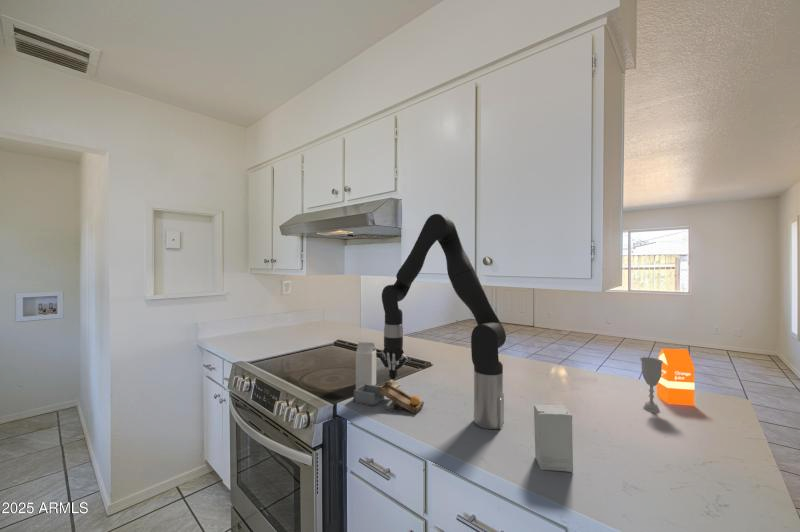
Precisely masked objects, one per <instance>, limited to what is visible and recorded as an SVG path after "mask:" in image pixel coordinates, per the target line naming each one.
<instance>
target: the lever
mask: <svg viewBox="0 0 800 532" xmlns="http://www.w3.org/2000/svg"><path fill="white" fill-rule="evenodd" d="M400 386H401V383H399V382H397V381H396V380H395V379H394V380H393V379H390V380H388V381H387V382H386V381H385V383H384V384H383V385H381V387H378V390H377V392H379V393H380V394H382V395H384V398H387V399H389V400H390V401H391V402H393V401H394V402H395V403H397V404H399V405H400V406H402V407H403V409H405V410H407V411H409V412H410V413H413V414H417V413H418V412H419V411H420V410H421V409H422V408H423V407H424V404H425V401H423V400H421V401H420V403H419V405H418V406H413V405H412V404H411V402H410V400H411V398H412V397H413V396H411V395H409V394H408V393H406V392H404V391H402V390H401V389H399V388H400Z"/></svg>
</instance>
